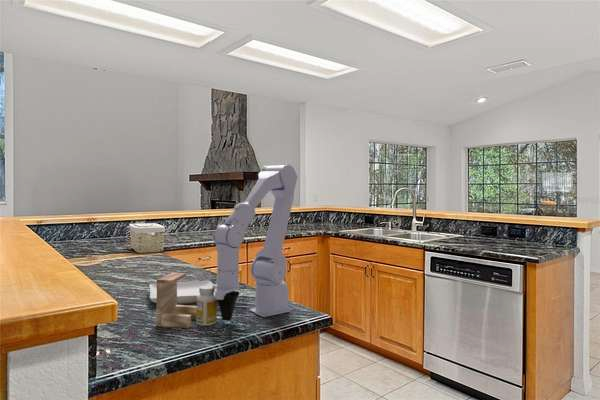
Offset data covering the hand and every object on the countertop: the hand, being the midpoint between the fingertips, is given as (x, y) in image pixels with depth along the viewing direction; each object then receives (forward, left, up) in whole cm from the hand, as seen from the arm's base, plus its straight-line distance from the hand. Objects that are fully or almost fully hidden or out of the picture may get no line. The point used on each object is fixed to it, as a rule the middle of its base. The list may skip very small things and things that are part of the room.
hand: (226, 319), depth 110 cm
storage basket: (-24, -144, -2) cm, 146 cm away
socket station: (+9, -9, -1) cm, 13 cm away
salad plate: (-1, -33, -2) cm, 33 cm away
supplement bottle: (+4, -4, -1) cm, 6 cm away
